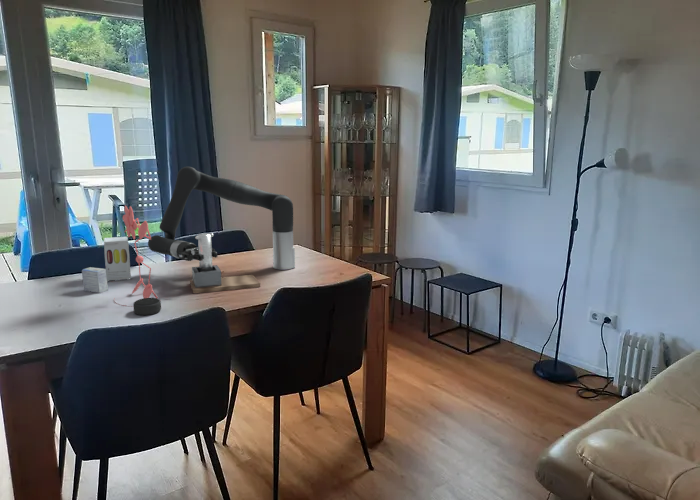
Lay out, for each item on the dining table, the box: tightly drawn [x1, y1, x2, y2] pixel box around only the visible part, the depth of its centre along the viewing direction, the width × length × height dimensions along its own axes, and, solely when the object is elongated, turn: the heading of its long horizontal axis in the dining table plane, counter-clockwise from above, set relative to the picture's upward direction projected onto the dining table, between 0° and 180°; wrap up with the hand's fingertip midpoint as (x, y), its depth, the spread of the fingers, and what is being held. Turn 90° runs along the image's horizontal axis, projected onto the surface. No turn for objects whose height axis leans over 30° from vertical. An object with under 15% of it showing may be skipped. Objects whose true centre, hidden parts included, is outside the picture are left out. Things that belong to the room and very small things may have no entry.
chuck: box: [191, 264, 222, 288], centre depth 211 cm, size 10×10×6 cm
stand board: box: [189, 274, 261, 294], centre depth 214 cm, size 26×14×2 cm, turn 112°
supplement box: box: [103, 236, 132, 282], centre depth 222 cm, size 10×9×17 cm
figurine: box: [113, 205, 159, 307], centre depth 192 cm, size 15×26×35 cm, turn 38°
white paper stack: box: [81, 266, 109, 294], centre depth 205 cm, size 8×4×9 cm, turn 71°
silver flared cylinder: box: [194, 232, 214, 272], centre depth 209 cm, size 8×5×20 cm, turn 142°
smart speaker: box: [132, 297, 162, 316], centre depth 182 cm, size 9×9×4 cm
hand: (209, 256), depth 208 cm, fingers open, 6 cm apart
